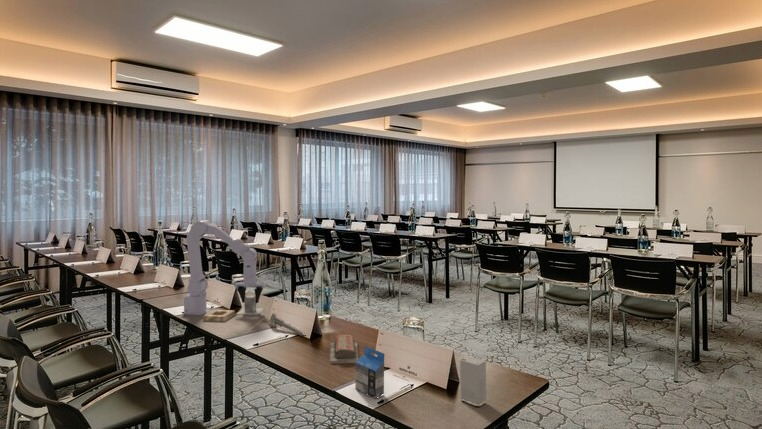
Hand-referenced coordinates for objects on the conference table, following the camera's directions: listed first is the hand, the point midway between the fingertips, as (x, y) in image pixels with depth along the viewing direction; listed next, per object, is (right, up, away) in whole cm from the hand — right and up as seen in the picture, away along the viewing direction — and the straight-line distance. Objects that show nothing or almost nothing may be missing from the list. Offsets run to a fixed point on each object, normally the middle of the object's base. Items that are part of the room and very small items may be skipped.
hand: (250, 302), depth 209 cm
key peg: (0, -4, 0) cm, 4 cm away
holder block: (-11, -5, -10) cm, 16 cm away
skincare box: (+88, -11, -86) cm, 123 cm away
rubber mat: (0, -5, 0) cm, 5 cm away
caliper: (+23, -7, -26) cm, 36 cm away
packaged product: (+49, -9, -50) cm, 71 cm away
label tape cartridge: (+59, -11, -80) cm, 100 cm away
